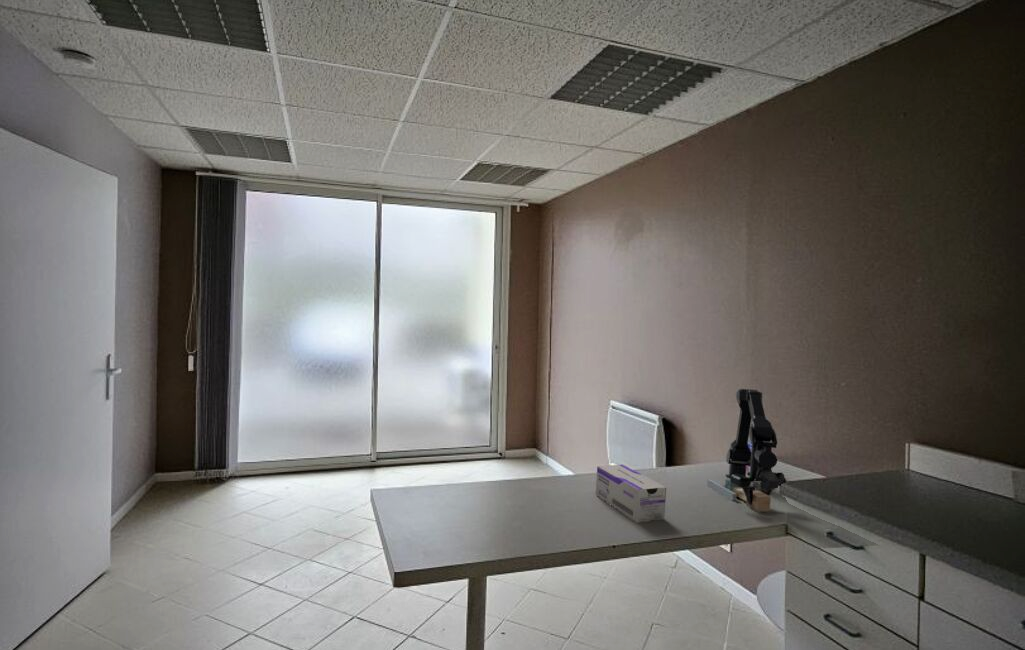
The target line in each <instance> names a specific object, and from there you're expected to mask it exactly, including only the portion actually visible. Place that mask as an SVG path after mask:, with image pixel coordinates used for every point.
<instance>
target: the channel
mask: <svg viewBox="0 0 1025 650" xmlns="http://www.w3.org/2000/svg"><path fill="white" fill-rule="evenodd" d="M706 483H707V485H706V486H707V487H708V488H710V489H712V490H713V491H715V492H717V493H719V494H721V495H722V496H724V497H725V498H727V499H729V500H730V501H733V502H736V501H737V494H736V493H734V492H732V491H731V490H729V489H727V488H725V485H721V484H720V483H718V482H716V481H714V480H712V479H707V481H706Z"/></svg>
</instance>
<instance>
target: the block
mask: <svg viewBox="0 0 1025 650" xmlns="http://www.w3.org/2000/svg"><path fill="white" fill-rule="evenodd" d="M771 499H772V497H771V496H770V495H767V494H765V493H763V492H761V490H753V498H752V505H750V504H749V503H748V501H747V498H746V501H745V505H746V506H747V507H749V508H751V509H752V510H753V511H756V512H770V511H771Z"/></svg>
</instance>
